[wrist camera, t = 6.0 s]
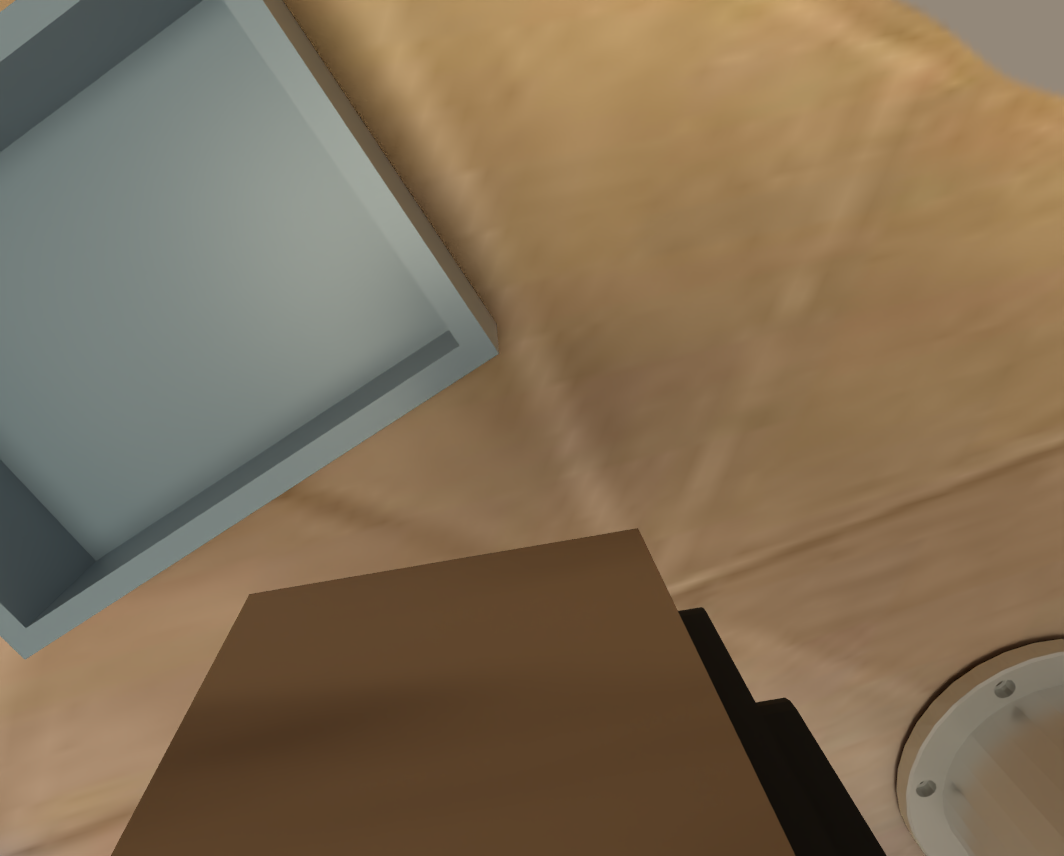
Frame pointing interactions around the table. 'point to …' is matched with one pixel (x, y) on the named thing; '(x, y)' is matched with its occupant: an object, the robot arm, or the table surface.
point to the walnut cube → (461, 721)
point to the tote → (191, 290)
